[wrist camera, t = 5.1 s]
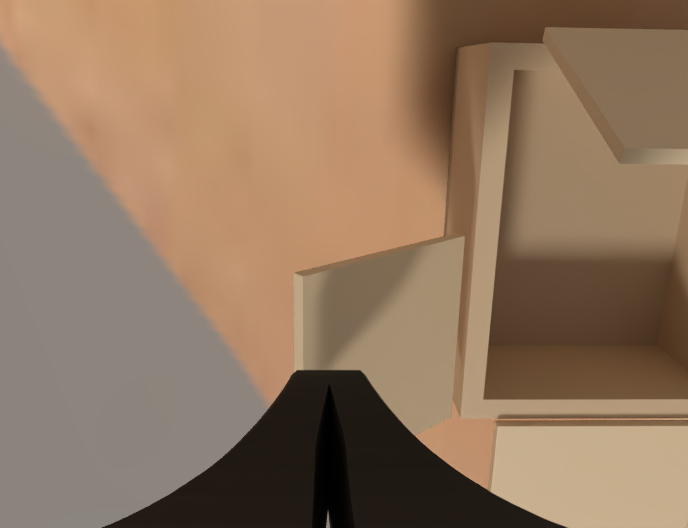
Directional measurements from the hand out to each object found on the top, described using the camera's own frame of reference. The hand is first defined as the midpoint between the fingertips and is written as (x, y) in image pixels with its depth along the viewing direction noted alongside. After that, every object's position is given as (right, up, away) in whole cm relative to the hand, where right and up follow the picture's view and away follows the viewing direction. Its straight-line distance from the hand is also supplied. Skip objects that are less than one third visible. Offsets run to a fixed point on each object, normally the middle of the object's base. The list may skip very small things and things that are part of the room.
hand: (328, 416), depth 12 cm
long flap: (+8, +6, 0) cm, 10 cm away
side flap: (+1, +1, +2) cm, 3 cm away
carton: (+10, +2, +9) cm, 13 cm away
